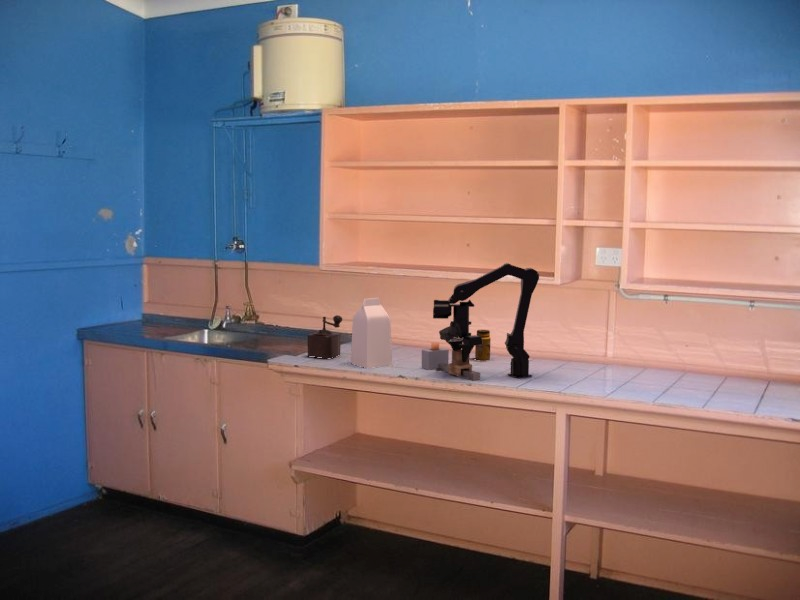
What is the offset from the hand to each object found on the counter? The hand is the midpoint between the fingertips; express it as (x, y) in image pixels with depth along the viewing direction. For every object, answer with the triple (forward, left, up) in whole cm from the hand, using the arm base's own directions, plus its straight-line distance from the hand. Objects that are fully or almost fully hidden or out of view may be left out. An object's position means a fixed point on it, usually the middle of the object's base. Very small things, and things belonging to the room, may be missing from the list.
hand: (460, 361), depth 293 cm
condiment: (+22, -26, -6) cm, 35 cm away
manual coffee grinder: (+57, +25, -6) cm, 63 cm away
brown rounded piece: (+17, 0, +1) cm, 17 cm away
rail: (+1, 0, -5) cm, 5 cm away
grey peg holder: (+17, 0, -5) cm, 17 cm away
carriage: (0, 0, -5) cm, 5 cm away
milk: (+34, +18, -6) cm, 39 cm away
